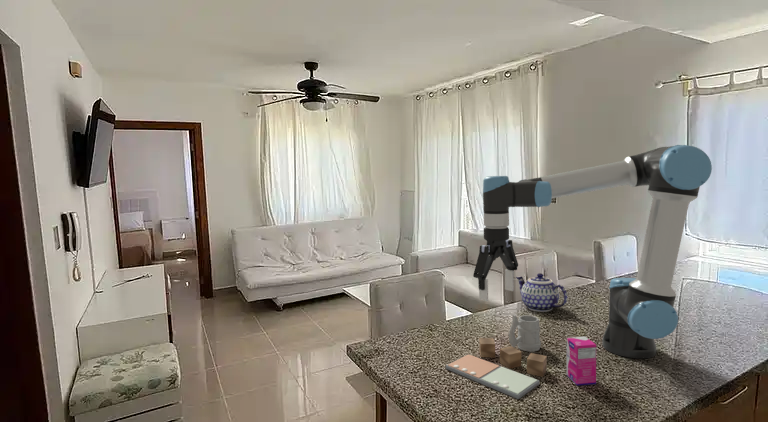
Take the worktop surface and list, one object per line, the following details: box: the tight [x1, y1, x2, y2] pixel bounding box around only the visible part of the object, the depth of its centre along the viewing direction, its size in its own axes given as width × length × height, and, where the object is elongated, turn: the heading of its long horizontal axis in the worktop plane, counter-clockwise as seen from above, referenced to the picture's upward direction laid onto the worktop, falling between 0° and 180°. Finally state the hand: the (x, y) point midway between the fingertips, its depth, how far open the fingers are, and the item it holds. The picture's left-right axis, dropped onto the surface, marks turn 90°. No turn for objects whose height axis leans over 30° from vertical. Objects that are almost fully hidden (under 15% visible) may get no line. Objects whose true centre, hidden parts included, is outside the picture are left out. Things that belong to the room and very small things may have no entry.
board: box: [445, 354, 540, 400], centre depth 123 cm, size 24×11×1 cm, turn 42°
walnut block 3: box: [526, 352, 548, 378], centre depth 125 cm, size 4×4×4 cm
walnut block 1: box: [478, 337, 496, 359], centre depth 137 cm, size 4×4×4 cm
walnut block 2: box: [499, 346, 522, 370], centre depth 130 cm, size 4×4×4 cm
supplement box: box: [566, 336, 597, 387], centre depth 119 cm, size 6×6×12 cm
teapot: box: [515, 272, 568, 313], centre depth 180 cm, size 25×15×15 cm, turn 30°
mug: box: [508, 314, 542, 353], centre depth 140 cm, size 8×12×12 cm, turn 114°
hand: (497, 295), depth 133 cm, fingers open, 13 cm apart
